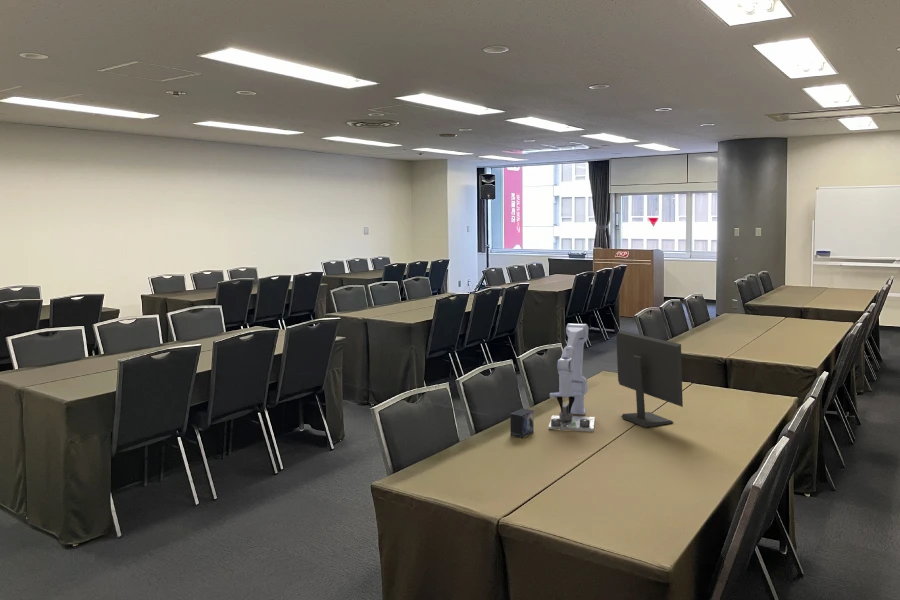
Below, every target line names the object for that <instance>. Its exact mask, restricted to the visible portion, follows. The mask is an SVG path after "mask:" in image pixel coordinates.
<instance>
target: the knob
mask: <svg viewBox="0 0 900 600" xmlns="http://www.w3.org/2000/svg"><path fill="white" fill-rule="evenodd" d="M568 409H569V402H565V403H564V404H563V407H562V413H561V411H560V412H559V413H558V416H559V419H560V420H561V421H572V416H573V414H572V413H571V412H570V413H569V411H568Z"/></svg>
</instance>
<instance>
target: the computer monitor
mask: <svg viewBox="0 0 900 600" xmlns="http://www.w3.org/2000/svg"><path fill="white" fill-rule="evenodd" d="M616 357H617V358H616V361H617V362H616V363H617V365H616V366H617V381H618V385H619V386H622V387H625V388H627V389H631V390H633V391H635V399H636V412H629V413H623V414H622V415H621V416H620V417H621V418H622V419H624V420H626V421H629V422H631V423H633V424H636V425H637V426H639V427H643V428H644V429H645V428H652V427H658V426H664V425H665V426H666V425H670V423H671V424H674V421H673V420H672V419H671V420H670V419H668V418H665V417H663V416H661V415H658V414H656V413H652V412H650V411H646V407H645V406H646V405H645V395H648V396H650V397H654V398H656V399H659V400H661V401H665V402H668V403H671V404H674V405H676V406H679V407H681V408H683V406H684V405H683V403H684V402H683V374H682V373H683V368H682V363H683V362H682V344H681V343H677V342H674V341H669V340H664V339H660V338H656V337H651V336H647V335H642V334H638V333H633V332H629V331H626V330H619V331H618V332H617V334H616Z"/></svg>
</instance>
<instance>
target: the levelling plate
mask: <svg viewBox="0 0 900 600" xmlns="http://www.w3.org/2000/svg"><path fill="white" fill-rule="evenodd" d="M595 418H596V417H595V416H581V415H575V416H574V415H572V421H561V420H560V419H559V415H556V414H555V415H552V416H551V417H550V422H549V424H548V430H549V429H560V430H559V431H564V430H574V431H573V432H591V433H593V432H595V431H594V430H595V429H594V428H595Z"/></svg>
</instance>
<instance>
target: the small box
mask: <svg viewBox="0 0 900 600" xmlns="http://www.w3.org/2000/svg"><path fill="white" fill-rule="evenodd" d="M509 415H510V416H509V417H510V422H509V423H510V424H509V425H510V431H509V432H510V434H509V435H510V437H514V438H519V439H523V438H525V437H527V436H530V435H531V434H533V433H534V410H532V409H528V408H523V407H521V408H519V409H518V410H515V411H513V412H511V413H509Z"/></svg>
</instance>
